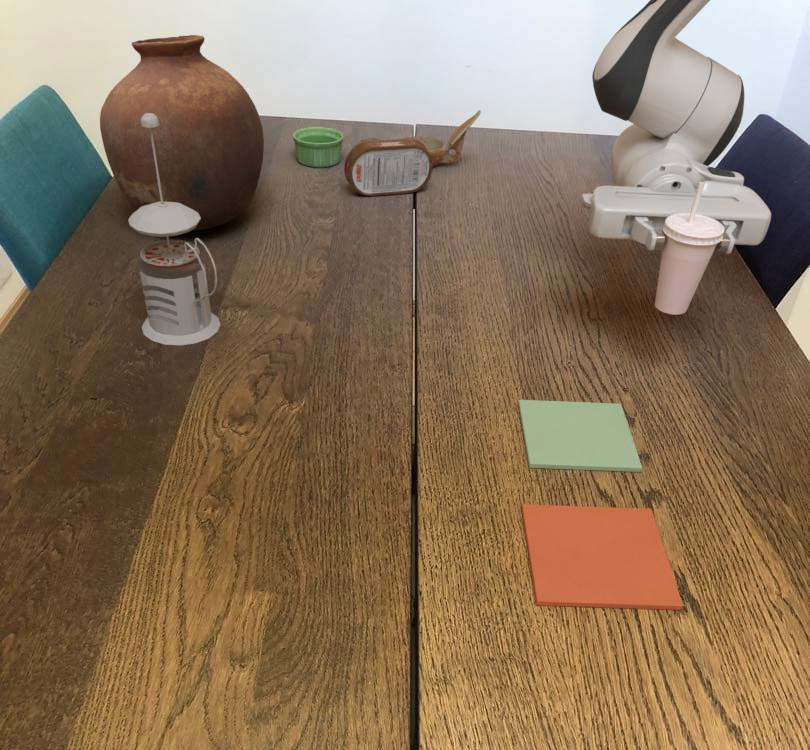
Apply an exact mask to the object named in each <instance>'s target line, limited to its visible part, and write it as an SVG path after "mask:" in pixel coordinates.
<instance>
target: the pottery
mask: <svg viewBox="0 0 810 750" xmlns="http://www.w3.org/2000/svg"><path fill="white" fill-rule="evenodd" d="M205 40H206V39H205V37H204V36H203V35H198V34H189V35H178V36H169V37H157V38H146V39H143V40H140V39H139V40H136V41H132V42H131V46H132V48H133V49H134V51H136V52H137V53H138V54H139V56H140V61H139V62H138V64H137V65H136V66H135V67H134V68H133V69H132V70H131V71H130V72H128V73H127V74H126V75H125V76H124V77H122V79H120V81H119V82H117V84H116V85H114V86H113V88H112V89H111V90H110V92H109V93H108V94H107V96H106V98H105V100H104V102H103V105H102V107H101V109H100V113H99V129H100V130H99V131H100V135H101V140H102V144H103V149H104V152H105V155H106V156H105V157H106V159H107V162H108V165H109V168H110V171H111V172H112V175H113V177H114V179H115V182H116V184H117V187H118V188H119V190H120V192H121V194H122V195H123V197H124V198H125V200H126V201H127V203H128V204H129V205H130V206H131V208H132V209H133V210H134V212H135V211H137V210H138V209H139V208H140V207H142V206H145V205H149V204H152V203H156V202H160V201H161V198H160V192H159V186H158V179H157V173H156V166H155V160H154V154H153V147H152V141H151V134H150V128H147V127H143V126H141V118H142V116H143V115H144V114H145V113H153V114H155V115H156V116H157V117H158V120H159V126H157V127H153V128H152V133H153V140H154V146H155V153H156V159H157V166H158V172H159V178H160V185H161V191H162V198H163V202H176V203H181V204H183V205H185V206H187V207H189V208H191V209H193V210H194V211H196V212H198V213H199V215H200V218H201V219H200V220H199V222H198V224H197V226H196V228H194V229H192V230H191V231H190V232H192V231H202V230H207V229H211V228H215V227H219V226H221V225H224V224H226V223H228V222H230V221H232V220H233V219H235V218H236V217H238V216H239V215H240V214H242V213H243V212H244V211H245V210H246V209H247V208H248V207H249V205H251V203H252V201H253V199H254V197H255V195H256V191H257V187H258V185H259V180H260V176H261V172H262V168H263V163H264V153H265V152H264V147H265V140H264V129H263V125H262V122H261V118H260V115H259V112H258V110H257V107H256V104H255V103H254V101H253V99H252V98H251V96H250V95H249V93H248V92H247V90H246V89H245V87H244V86H243V85H242V84H241V83H240V82H239V80H237V79H236V78H235V77H234V76H233V75H232V74H231V73H230V72H229V71H227V70H226V69H224V68H223V67H221V66H219V64H216V63H215V62H212V61H211V60H209V59H208V58H206V57H205V56H204V55H203V54H202V52H201V48H202V45H203V44H204V43H205Z"/></svg>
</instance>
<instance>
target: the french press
mask: <svg viewBox="0 0 810 750" xmlns="http://www.w3.org/2000/svg"><path fill="white" fill-rule="evenodd" d="M141 126H143V127H147V128H150V134H151V141H152V147H153V154H154V160H155V166H156V173H157V179H158V186H159V192H160V198H161V201H160V202H156V203H152V204H149V205H145V206H142V207H140V208H139V209H138V210H137V211H135V210H134V212H132V214H131V215H130V216H129V218H128V224H129V226H130V227H131V229H132V230H134V231H135V232H137V233H138V234H141V235H144V236H149V237H159V238H160V237H161V238H164V237H165V238H166V239H163V240H155V241H154V242H151V243H149V244H146V245H144V246H143V247H142V248H141V249H140V251H139V253H138V256H139V258H140V260H141V261H140V262H139V264H137V265H138V271H139V276H140V281H141V283H140V284H141V285H142V294H143V296H144V304H145V309H146V313H147V317H146V318H145V319H144V322H143V323H142V326H141V329H142V334H143V336H145V337H146V338H147V339H148V340H150V341H151V342H155V343H158V344H161V345H166V346H186V345H194V344H198V343H200V342H203V341H206V340H209V339H210V338H212V337H213V336H214V335H215V334H216V333H218V332H219V330H220V328H221V321H220V319H219V317H218V316H217V315H216V314H214V313H212V309H211V302H210V297H211V296H213V295H214V294H215V293H216V290H217V286H218V275H217V267H216V262H215V260H214V258H213V255H212V254H211V252H210V250H209V249H208V247H207V245H206V244H205V243H204V242H203V241H202V240H201V239H200V238H199V237H195V238H194V243H193V242H191V241H188V240H183V239H182V240H181V239H173V238H171V239H170V237H176V236H180V235H183V234H187V233H189V232H192V231H191V230H192V229H194V228H196V226H197V224H198V222H199V220H200V219H201V218H200V215H199V213H198V212H196V211H194V210H193V209H191V208H189V207H187V206H185V205H183V204H181V203H176V202H163V198H162V191H161V185H160V178H159V172H158V166H157V159H156V153H155V146H154V140H153V133H152V128H153V127H157V126H159V120H158V117H157V116H156V115H155V114H153V113H145V114H144V115H143V116H142V118H141ZM198 243H199V244H201V245H202V247H203V248H204V250H205V251H206V254H208V256H209V259H210V261H211V264H212V267H213V271H214V287H213V289H212V291H211V292H210V293H209V287H208V278H207V271H206V263H205V259H203V258H202V257H201V256H200V255H201V253H202V251H201V249H200V247H199V246H198ZM194 264H197V265H200V267H201V268H199V267H196V268H193V269H189V270H186V271H179V272H172V271H169V269H178V268H184V267H188V266H191V265H194ZM193 275H196V278H193ZM196 284H197V286H198V287H195V286H194V285H196ZM198 293H199V296H197V297H196V296H195V294H198Z"/></svg>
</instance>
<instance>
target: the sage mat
mask: <svg viewBox="0 0 810 750" xmlns="http://www.w3.org/2000/svg"><path fill="white" fill-rule="evenodd" d="M517 406H518V412H519V418H520V423H521V428H522V434H523V439H524V446H525V451H526V457H527V463H528V468H529V469H548V470H549V469H551V470H574V471H575V470H576V471H601V472H602V471H603V472H623V473H625V472H629V473H642V471H643V465H642V462H641V459H640V456H639V453H638V451H637V450H638V449H637V447H636V444H635V442H634V439H633V435H632V433H631V430H630V426H629V423H628V420H627V417H626V414H625V412H624V408H623V406H622V403H613V402H612V403H611V402H591V401H589V402H588V401H566V400H565V401H563V400H539V399H518V402H517Z"/></svg>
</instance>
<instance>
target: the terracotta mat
mask: <svg viewBox="0 0 810 750" xmlns="http://www.w3.org/2000/svg"><path fill="white" fill-rule="evenodd" d="M520 510H521V514H522V522H523V528H524V535H525V540H526V541H525V542H526V547H527V554H528V560H529V566H530V567H529V568H530V573H531V580H532V585H533V593H534V599H535V605H536V606H547V607H548V606H549V607H573V608H574V607H575V608H576V607H577V608H603V609H605V608H606V609H608V608H609V609H633V610H634V609H636V610H637V609H639V610H663V611H664V610H665V611H667V610H669V611H682V609H683V608H684V604H683V601H682V599H681V596H680V592H679V589H678V586H677V583H676V580H675V577H674V575H673V570H672V567H671V565H670V561H669V559H668V556H667V552H666V549H665V547H664V543H663V541H662V537H661V533H660V530H659V528H658V526H657V522H656V519H655V515H654V512H653V510H652V508H640V507H638V508H637V507H613V506H612V507H611V506H584V505H583V506H582V505H559V504H558V505H557V504H555V505H553V504H533V503H532V504H531V503H529V504H528V503H522V504H521V509H520Z"/></svg>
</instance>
